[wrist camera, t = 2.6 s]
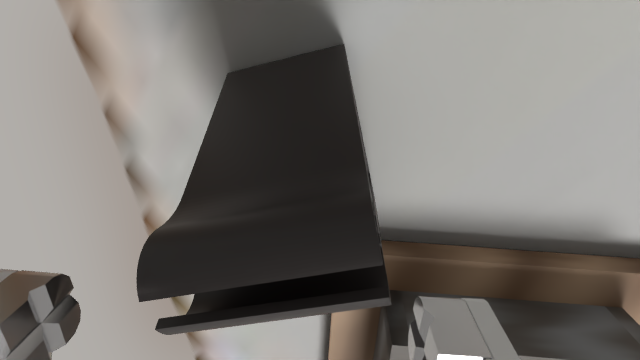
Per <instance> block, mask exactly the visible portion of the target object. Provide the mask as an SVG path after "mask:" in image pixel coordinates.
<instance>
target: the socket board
mask: <svg viewBox="0 0 640 360" xmlns="http://www.w3.org/2000/svg"><path fill="white" fill-rule="evenodd" d="M381 243H382V250H383V256H384V262H385V268H386V273H387V279H388V284H389V290H390V296H391V303H392V305H389V306H381V307H374V308H366V309H359V310H351V311H344V312H336V313H331V325H330V338H329V351H328V360H410V358H409V350H408V334H409V328H410V323H412V322H413V321H414V320H415V315H414V311H413V307H414V302H415V299H416V297H417V296H427V297H445V298H460V299H461V298H472V299H484V300H486V301H487V302H488V303H489V305H490V307H491V309H492V310H493V312H494V314H495V316H496V317H497V319H498V321H499V323H500V325H501V326H502V328H503V330H504V332H505V333H506V335H507V337H508V339H509V341H510V342H511V344H512V346H513V348H514V349H515V351H516V353H517V355H518V356H519V358H520V360H640V259H637V258H623V257H609V256H595V255H581V254H567V253H553V252H539V251H525V250H511V249H497V248H483V247H469V246H455V245H441V244H427V243H413V242H399V241H385V240H381Z"/></svg>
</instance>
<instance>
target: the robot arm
mask: <svg viewBox="0 0 640 360" xmlns="http://www.w3.org/2000/svg"><path fill="white" fill-rule="evenodd" d="M73 288H74V287H73V285H72V282H71V280H70V277H69V276H67V275H64V274H58V273H47V272H35V271H24V270H22V271H18V270H7V269H0V360H52V352H53V351H55V350H57V349H59V348H60V347H62V346H64V345H66V344H67V342H68V341H69V340H70V339H71V337H72V336H73V335H74V334H75V332H76V329H77V327H78V325H79V322H80V313H81V310H80V307H79V303H78V302H77V301H76V300H75V299H74V298H73V297H72V296H70V293H71V291H72V290H73ZM413 311H414V315H415V320H414V321H413V322H412V323H410V328H409V334H408V350H409V358H410V360H520V358H519V356H518V355H517V353H516V351H515V349H514V348H513V346H512V344H511V342H510V341H509V339H508V337H507V335H506V333H505V332H504V330H503V328H502V326H501V325H500V323H499V321H498V319H497V317H496V316H495V314H494V312H493V310H492V309H491V307H490V305H489V303H488V302H487V301H486V300H484V299H472V298H461V299H460V298H445V297H427V296H417V297H416V299H415V302H414V307H413Z"/></svg>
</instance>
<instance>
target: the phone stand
mask: <svg viewBox="0 0 640 360" xmlns="http://www.w3.org/2000/svg"><path fill="white" fill-rule="evenodd" d="M137 292H138V298H139V302H143V301H150V300H156V299H163V298H170V297H176V296H183V295H189V294H195V295H194V299H193V302H192V305H191V307H190V309H189V311H188V312H187V314H186V315H182V316H175V317H168V318H161V319H159V320H158V323H157V325H156V328H155V330H156V331H158V332H160V333H162V334H166V335H172V334H179V333H187V332H194V331H202V330H209V329H217V328H224V327H232V326H239V325H247V324H254V323H262V322H269V321H277V320H284V319H292V318H299V317H306V316H314V315H321V314H329V313H336V312H344V311H351V310H359V309H366V308H374V307H381V306H389V305H392V303H391V296H390V290H389V284H388V279H387V273H386V268H385V262H384V256H383V250H382V243H381V236H380V230H379V223H378V216H377V210H376V204H375V198H374V193H373V188H372V183H371V178H370V173H369V168H368V163H367V158H366V153H365V147H364V142H363V137H362V132H361V127H360V122H359V117H358V112H357V107H356V102H355V96H354V91H353V86H352V81H351V76H350V71H349V66H348V61H347V56H346V51H345V46H344V44H342V45H338V46H334V47H330V48H326V49H322V50H318V51H314V52H310V53H306V54H302V55H298V56H294V57H290V58H286V59H282V60H278V61H274V62H270V63H266V64H262V65H258V66H254V67H250V68H246V69H242V70H238V71H234V72H230V73H228V74H227V77H226V80H225V82H224V85H223V88H222V90H221V93H220V96H219V99H218V101H217V104H216V107H215V109H214V112H213V115H212V118H211V120H210V123H209V126H208V128H207V131H206V134H205V137H204V139H203V142H202V145H201V147H200V150H199V153H198V156H197V158H196V161H195V164H194V166H193V169H192V172H191V175H190V177H189V180H188V183H187V185H186V188H185V191H184V194H183V196H182V199H181V201H180V203H179V206H178V207H177V209H176V211H175V212H174V214H173V215H172V216H171V218H170V219H169V220H168V221H167V222H166V223H165V224H163V225H162V226H161V227H159V228H158V229H156V230H155V231H154V232H153V233H152V234H151V235H150V236H149V238H148V239H147V241H146V243H145V244H144V246H143V249H142V251H141V254H140V258H139V262H138V268H137Z"/></svg>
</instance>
